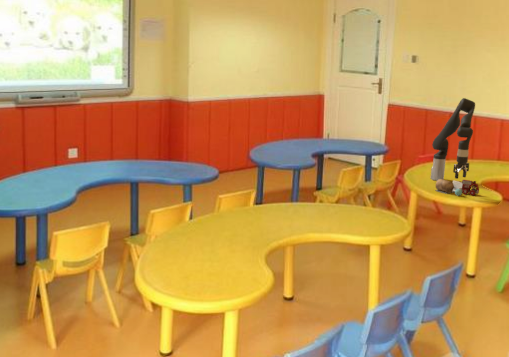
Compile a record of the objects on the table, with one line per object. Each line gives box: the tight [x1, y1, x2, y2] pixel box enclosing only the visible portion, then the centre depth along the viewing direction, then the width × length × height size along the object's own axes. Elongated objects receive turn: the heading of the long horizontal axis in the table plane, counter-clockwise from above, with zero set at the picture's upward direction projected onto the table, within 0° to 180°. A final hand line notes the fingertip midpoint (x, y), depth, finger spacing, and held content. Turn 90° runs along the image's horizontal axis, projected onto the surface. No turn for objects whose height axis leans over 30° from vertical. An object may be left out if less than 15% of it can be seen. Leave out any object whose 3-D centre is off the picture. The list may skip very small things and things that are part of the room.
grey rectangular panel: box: [435, 188, 457, 195], centre depth 483 cm, size 10×21×1 cm, turn 125°
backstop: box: [452, 180, 462, 190], centre depth 486 cm, size 11×7×5 cm, turn 35°
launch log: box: [435, 179, 454, 194], centre depth 478 cm, size 10×8×8 cm
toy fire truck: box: [461, 179, 480, 197], centre depth 473 cm, size 7×12×10 cm, turn 61°
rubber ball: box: [454, 189, 463, 197], centre depth 468 cm, size 5×5×5 cm
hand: (460, 177), depth 466 cm, fingers open, 8 cm apart
